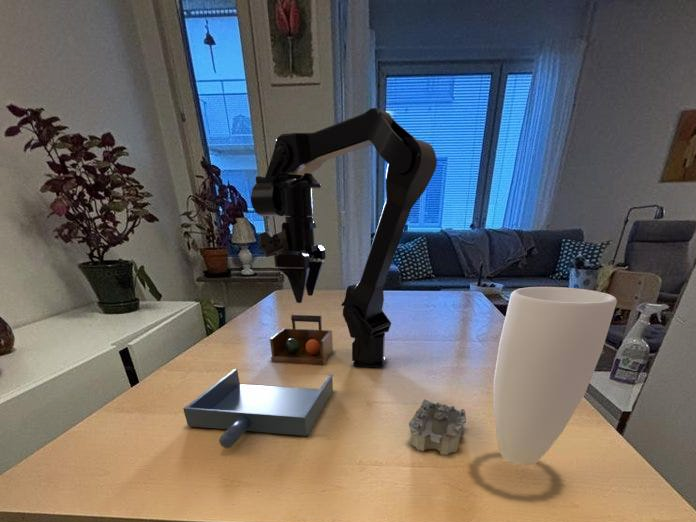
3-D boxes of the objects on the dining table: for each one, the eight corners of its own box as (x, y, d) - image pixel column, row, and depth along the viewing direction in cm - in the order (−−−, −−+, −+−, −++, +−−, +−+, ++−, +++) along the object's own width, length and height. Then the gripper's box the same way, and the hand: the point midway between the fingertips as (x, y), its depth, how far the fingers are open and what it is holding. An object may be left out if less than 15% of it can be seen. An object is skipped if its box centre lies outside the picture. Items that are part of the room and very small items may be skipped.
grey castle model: (455, 458, 55) (459, 432, 52) (403, 448, 57) (405, 423, 54) (467, 426, 63) (471, 402, 60) (421, 418, 65) (423, 395, 63)
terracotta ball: (322, 352, 93) (321, 338, 91) (318, 357, 90) (317, 342, 88) (308, 352, 93) (307, 337, 91) (304, 356, 91) (303, 341, 89)
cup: (466, 453, 56) (496, 285, 43) (540, 455, 55) (592, 286, 43) (482, 498, 47) (526, 303, 35) (570, 500, 47) (646, 305, 34)
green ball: (301, 351, 94) (300, 337, 92) (297, 356, 91) (296, 341, 89) (288, 351, 94) (286, 336, 92) (283, 355, 91) (281, 340, 89)
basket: (333, 351, 96) (332, 315, 91) (323, 364, 87) (321, 326, 83) (286, 348, 98) (282, 313, 93) (271, 361, 89) (266, 324, 84)
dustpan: (237, 385, 77) (234, 368, 75) (333, 391, 75) (332, 374, 73) (162, 449, 56) (156, 429, 54) (292, 461, 54) (290, 440, 52)
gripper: (276, 216, 89) (283, 291, 98) (243, 216, 74) (255, 305, 83) (324, 216, 88) (327, 292, 97) (300, 217, 73) (307, 307, 81)
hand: (304, 299), depth 90 cm, fingers open, 9 cm apart
